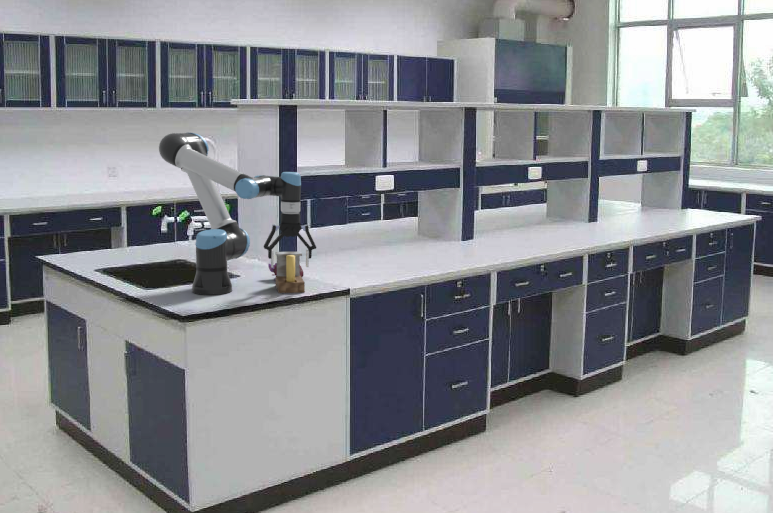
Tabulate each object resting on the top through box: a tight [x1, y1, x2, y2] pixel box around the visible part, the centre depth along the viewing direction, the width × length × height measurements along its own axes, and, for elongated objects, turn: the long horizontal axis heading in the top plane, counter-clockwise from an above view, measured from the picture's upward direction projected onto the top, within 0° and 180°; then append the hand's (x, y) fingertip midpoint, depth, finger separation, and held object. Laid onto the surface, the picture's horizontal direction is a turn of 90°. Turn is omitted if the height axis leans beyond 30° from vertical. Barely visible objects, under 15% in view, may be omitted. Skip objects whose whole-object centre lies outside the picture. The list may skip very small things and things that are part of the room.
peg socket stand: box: [274, 251, 306, 294], centre depth 330 cm, size 10×14×14 cm
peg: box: [286, 255, 295, 282], centre depth 327 cm, size 3×3×14 cm
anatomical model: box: [267, 262, 305, 281], centre depth 350 cm, size 12×10×15 cm
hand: (289, 266), depth 326 cm, fingers open, 13 cm apart
